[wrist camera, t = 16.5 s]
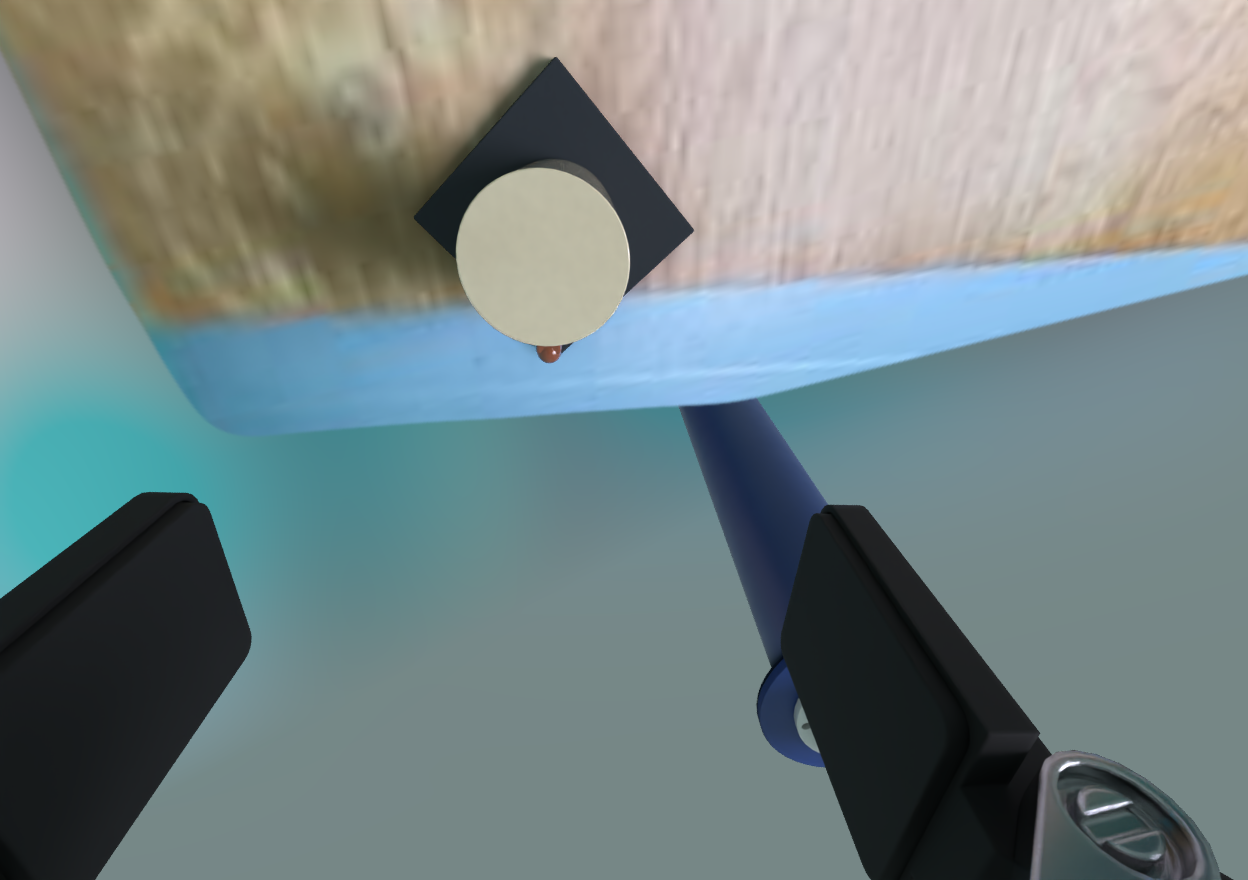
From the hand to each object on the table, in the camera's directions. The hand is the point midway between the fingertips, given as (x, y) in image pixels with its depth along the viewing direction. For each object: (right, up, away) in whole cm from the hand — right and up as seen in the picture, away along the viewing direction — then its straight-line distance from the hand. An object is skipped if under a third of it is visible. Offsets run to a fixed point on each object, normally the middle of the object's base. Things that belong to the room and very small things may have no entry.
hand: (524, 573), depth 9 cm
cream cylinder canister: (-2, +13, +19) cm, 23 cm away
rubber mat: (-2, +13, +20) cm, 24 cm away
